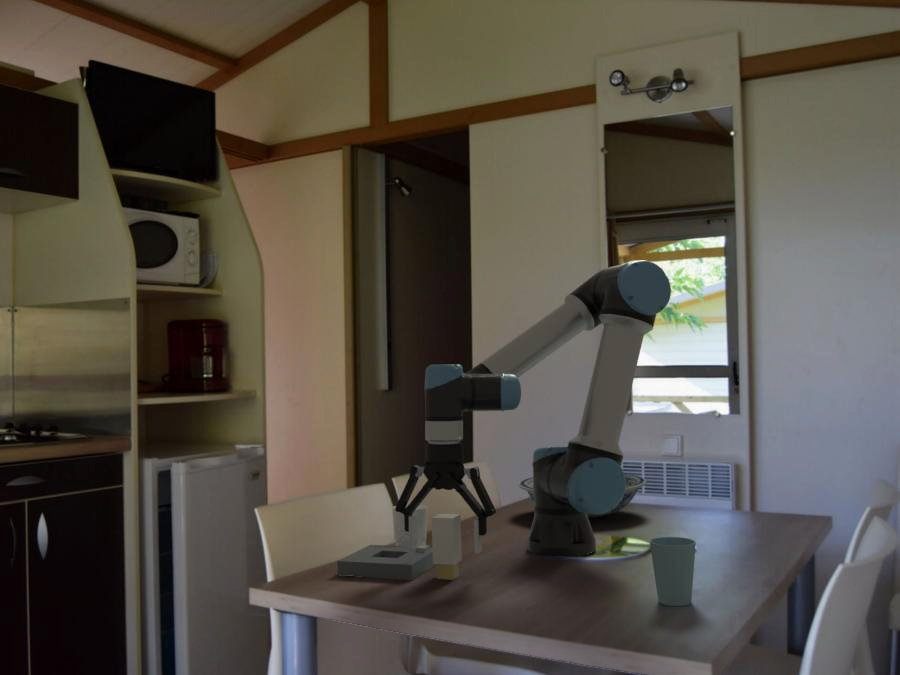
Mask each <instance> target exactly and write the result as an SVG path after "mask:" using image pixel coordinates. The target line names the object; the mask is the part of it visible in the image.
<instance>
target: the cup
mask: <svg viewBox="0 0 900 675" xmlns="http://www.w3.org/2000/svg"><path fill="white" fill-rule="evenodd" d="M696 542H697V541H696V540H694V539H691V538H687V537H678V536H660V537H654V538H651V539H650V540H649V544H650V545H649V546H650V553H651V560H652V566H653V572H654V573H653V574H654V579H655V581H654V583H655V588H656V594H657V600H658V603H660V604H662V605H665V606H670V607H683V606H688V605H691V604H692V599H693V597H692V596H693V586H694V571H695V559H696V558H695V557H696V556H695V555H696V545H697V544H696Z"/></svg>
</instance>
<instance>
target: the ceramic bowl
mask: <svg viewBox="0 0 900 675" xmlns="http://www.w3.org/2000/svg"><path fill="white" fill-rule="evenodd" d="M624 475H625V476H626V490H625V494H624V496H623V498H622V500H621V501H620V503H619V504H618V505H617V506H616V507H615V508H613V509H612V510H610V511H608V512H606V513H603V514H587V516H588V518H596V517H604V516H608V515H610V514H611V515H612V514H614V513H617V512H619V511H620V510H622V509H624V508H625V507H626V506H628V505H629V503H631V501H632V500H633V499H634V497H635V496H636V494H637V493H638V490H639V488H642V487H643V486H645V485H646V484H647V481H646V478H644V477H643V476H642V477H641V476H639V475H634V474H630V473H629V474H628V473H624ZM518 486H519V489H521V490H523V491H526V492H527V494H528V495H529V497H530V499H531V500H532V501H533V502H534V479H533V476H532V477H529V478H525V479H522V480H521V481H520V482H519V483H518Z"/></svg>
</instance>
